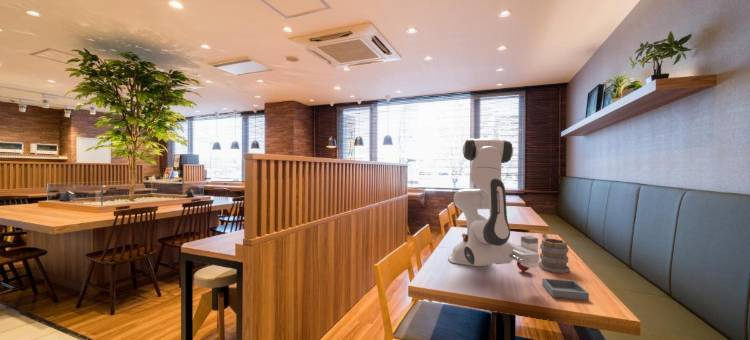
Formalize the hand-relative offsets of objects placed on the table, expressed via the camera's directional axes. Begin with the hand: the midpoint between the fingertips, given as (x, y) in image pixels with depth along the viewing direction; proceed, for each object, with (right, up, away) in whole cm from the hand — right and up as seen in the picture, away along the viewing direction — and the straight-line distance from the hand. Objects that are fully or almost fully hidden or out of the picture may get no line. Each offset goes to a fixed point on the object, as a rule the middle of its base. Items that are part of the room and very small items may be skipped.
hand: (531, 250), depth 128 cm
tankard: (+25, -16, +28) cm, 41 cm away
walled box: (+12, -16, -4) cm, 20 cm away
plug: (-1, -7, 0) cm, 7 cm away
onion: (+7, -16, +20) cm, 26 cm away
